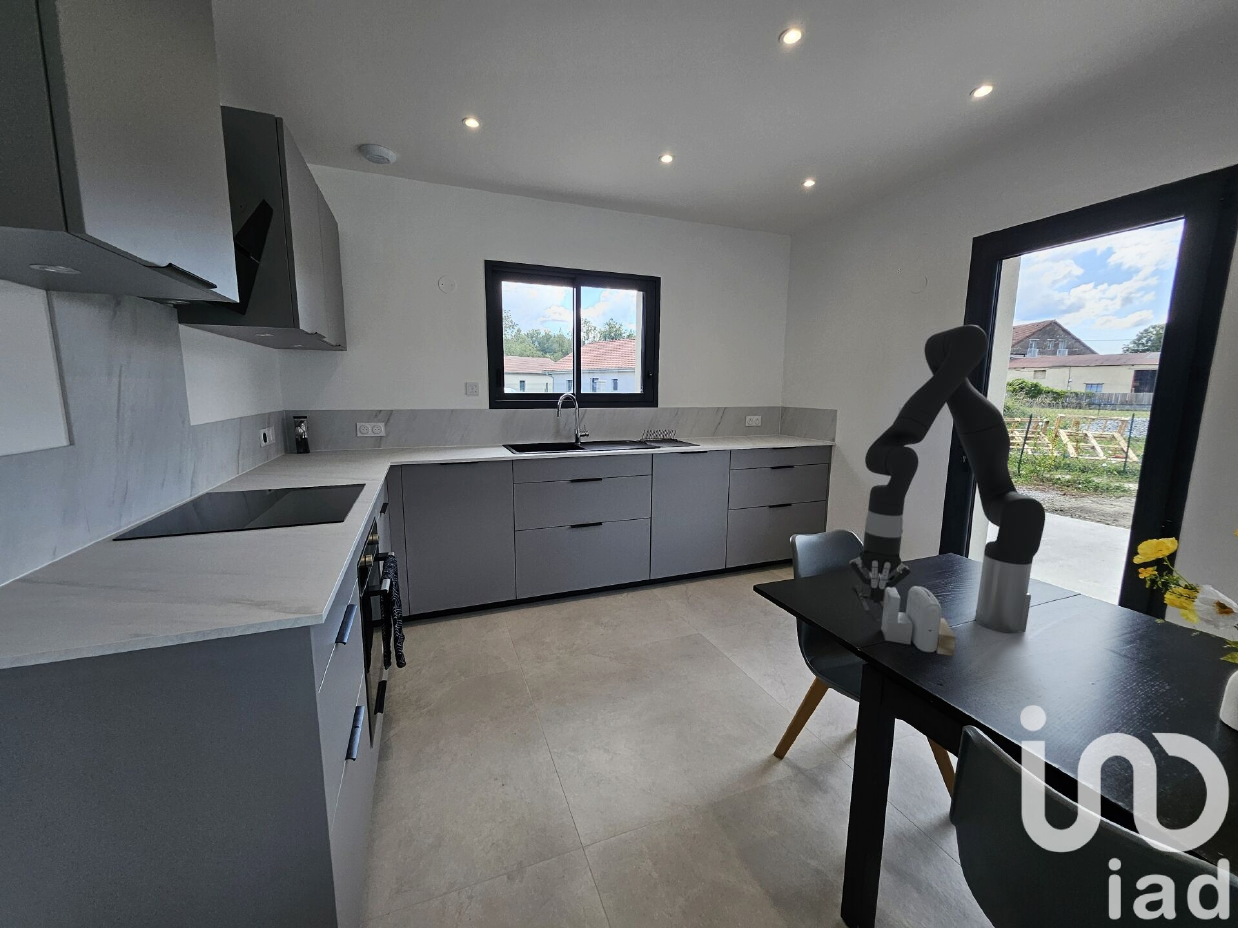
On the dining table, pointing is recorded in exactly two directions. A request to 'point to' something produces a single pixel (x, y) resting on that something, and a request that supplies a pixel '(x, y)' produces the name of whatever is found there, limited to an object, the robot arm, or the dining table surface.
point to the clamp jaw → (895, 619)
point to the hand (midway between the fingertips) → (875, 601)
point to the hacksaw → (858, 589)
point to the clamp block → (945, 639)
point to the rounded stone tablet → (924, 618)
